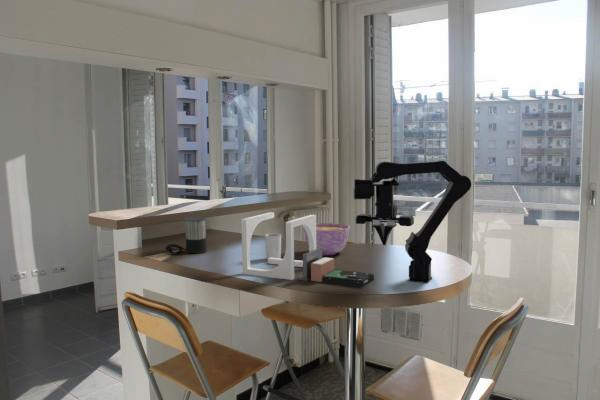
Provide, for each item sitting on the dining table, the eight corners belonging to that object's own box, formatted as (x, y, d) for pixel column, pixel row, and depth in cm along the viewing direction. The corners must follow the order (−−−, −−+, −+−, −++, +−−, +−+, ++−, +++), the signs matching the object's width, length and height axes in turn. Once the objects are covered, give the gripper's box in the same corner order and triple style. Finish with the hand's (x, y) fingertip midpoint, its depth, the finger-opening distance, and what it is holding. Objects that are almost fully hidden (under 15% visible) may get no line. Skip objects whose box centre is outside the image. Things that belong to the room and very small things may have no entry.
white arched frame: (242, 274, 183) (241, 219, 181) (270, 262, 201) (269, 212, 199) (291, 280, 174) (290, 222, 172) (316, 267, 192) (315, 214, 190)
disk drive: (374, 281, 173) (334, 276, 180) (374, 273, 173) (334, 268, 180) (362, 289, 164) (321, 283, 171) (362, 280, 164) (321, 275, 171)
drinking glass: (275, 256, 212) (275, 232, 210) (285, 259, 206) (284, 234, 205) (262, 258, 207) (261, 234, 206) (271, 261, 202) (271, 236, 201)
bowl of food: (359, 252, 217) (359, 225, 216) (330, 260, 202) (330, 232, 201) (323, 246, 230) (323, 221, 229) (293, 254, 216) (293, 227, 214)
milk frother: (211, 251, 223) (210, 218, 222) (182, 257, 211) (180, 222, 210) (191, 247, 232) (189, 215, 231) (161, 253, 220) (160, 219, 219)
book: (334, 275, 180) (334, 258, 179) (321, 282, 171) (321, 264, 171) (324, 274, 182) (324, 257, 181) (311, 280, 173) (310, 262, 172)
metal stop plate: (322, 273, 183) (322, 248, 182) (307, 280, 173) (306, 254, 172) (313, 271, 185) (313, 247, 184) (297, 279, 174) (297, 253, 173)
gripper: (417, 197, 174) (417, 242, 175) (364, 196, 181) (364, 239, 183) (410, 200, 164) (410, 248, 165) (354, 199, 171) (355, 245, 173)
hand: (384, 245), depth 172 cm, fingers closed
